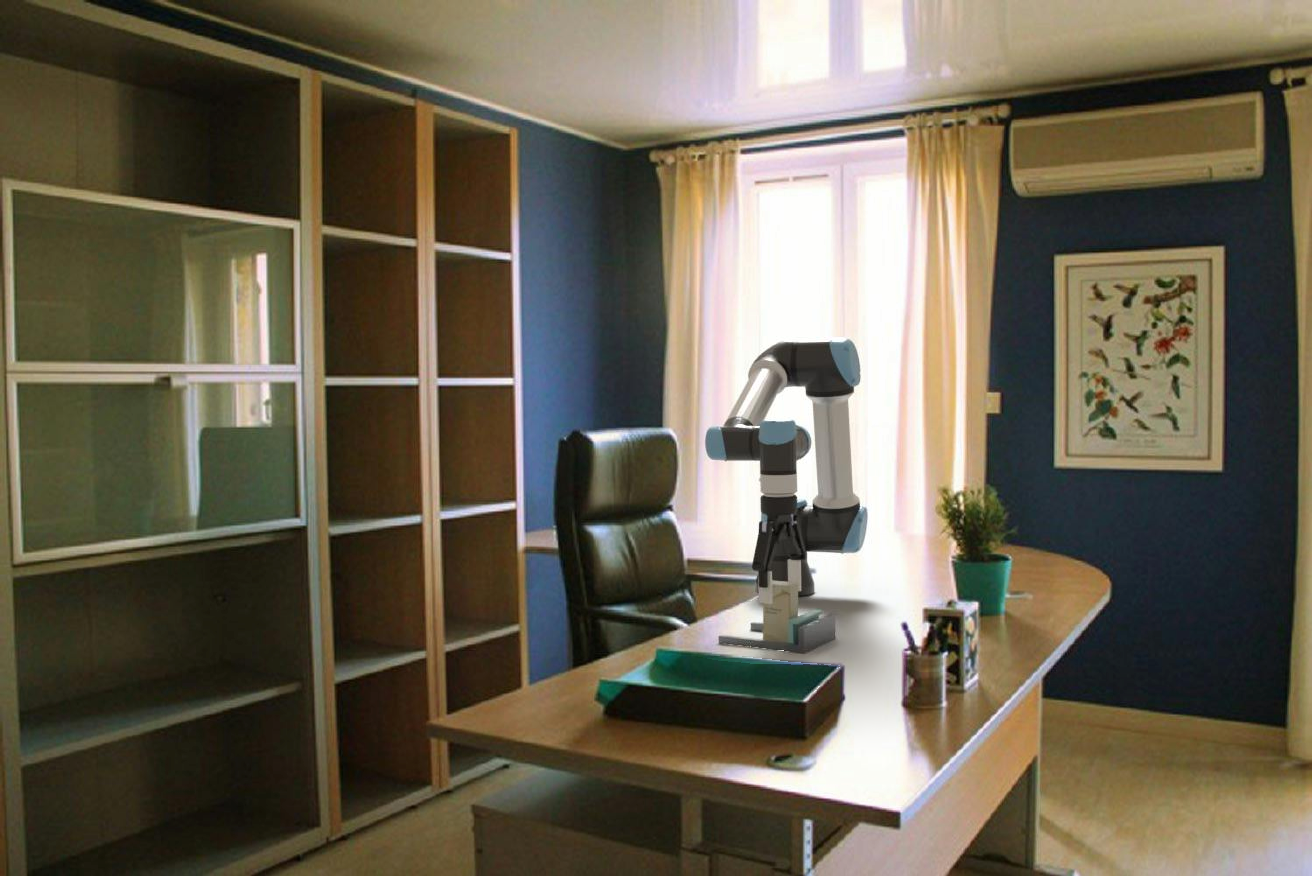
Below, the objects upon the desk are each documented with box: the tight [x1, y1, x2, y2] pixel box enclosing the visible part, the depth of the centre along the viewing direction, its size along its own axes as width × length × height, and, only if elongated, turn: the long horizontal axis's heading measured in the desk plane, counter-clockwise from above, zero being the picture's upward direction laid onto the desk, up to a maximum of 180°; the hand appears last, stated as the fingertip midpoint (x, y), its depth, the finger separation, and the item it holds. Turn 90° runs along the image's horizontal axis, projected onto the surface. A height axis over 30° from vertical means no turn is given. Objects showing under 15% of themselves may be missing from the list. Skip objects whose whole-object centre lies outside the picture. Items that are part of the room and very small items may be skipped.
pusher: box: [787, 609, 824, 644], centre depth 229 cm, size 12×4×6 cm, turn 148°
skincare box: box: [762, 580, 799, 643], centre depth 232 cm, size 6×4×12 cm
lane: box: [718, 613, 837, 655], centre depth 233 cm, size 15×19×5 cm
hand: (780, 596), depth 232 cm, fingers open, 13 cm apart
